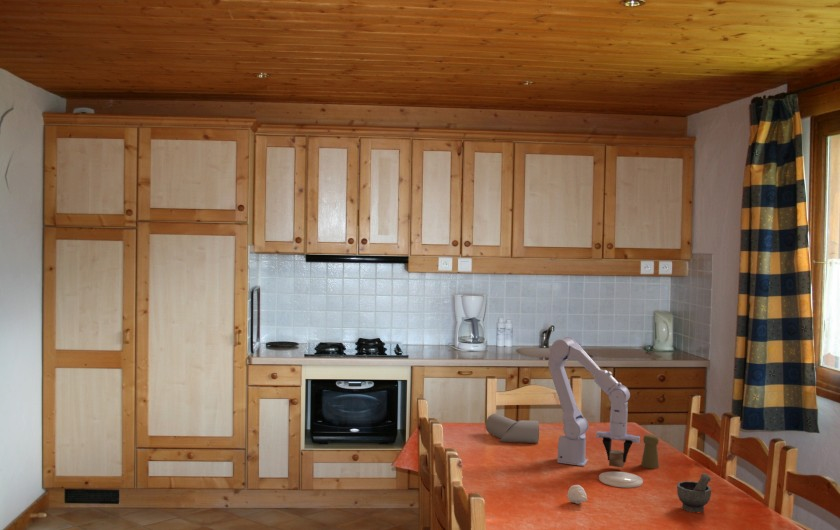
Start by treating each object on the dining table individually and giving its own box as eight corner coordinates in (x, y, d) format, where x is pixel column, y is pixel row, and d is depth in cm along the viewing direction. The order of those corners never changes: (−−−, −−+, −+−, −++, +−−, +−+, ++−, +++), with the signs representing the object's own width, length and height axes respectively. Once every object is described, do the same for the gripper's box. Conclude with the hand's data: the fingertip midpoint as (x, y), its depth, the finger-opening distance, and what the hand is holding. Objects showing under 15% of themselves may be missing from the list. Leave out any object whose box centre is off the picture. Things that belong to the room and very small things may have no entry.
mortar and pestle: (669, 505, 234) (670, 465, 233) (695, 502, 237) (696, 463, 236) (693, 518, 223) (695, 477, 223) (720, 515, 226) (722, 474, 226)
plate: (595, 483, 252) (595, 480, 252) (602, 471, 265) (602, 468, 265) (639, 490, 247) (640, 486, 247) (645, 477, 260) (645, 474, 260)
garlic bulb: (577, 509, 228) (577, 490, 228) (565, 502, 234) (566, 484, 234) (592, 506, 231) (593, 488, 230) (580, 500, 236) (581, 482, 236)
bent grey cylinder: (486, 441, 296) (539, 443, 295) (487, 413, 298) (539, 415, 297) (484, 439, 313) (534, 441, 312) (485, 413, 315) (534, 415, 314)
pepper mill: (659, 469, 270) (661, 437, 269) (641, 467, 271) (643, 436, 271) (658, 464, 276) (659, 433, 275) (640, 462, 277) (641, 432, 277)
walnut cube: (609, 465, 267) (609, 452, 267) (611, 462, 271) (611, 449, 271) (622, 467, 265) (622, 454, 265) (624, 464, 269) (624, 451, 269)
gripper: (595, 421, 267) (593, 460, 267) (638, 426, 261) (637, 466, 262) (598, 417, 273) (597, 455, 274) (641, 422, 267) (639, 461, 268)
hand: (616, 460), depth 268 cm, fingers closed on walnut cube, 4 cm apart
